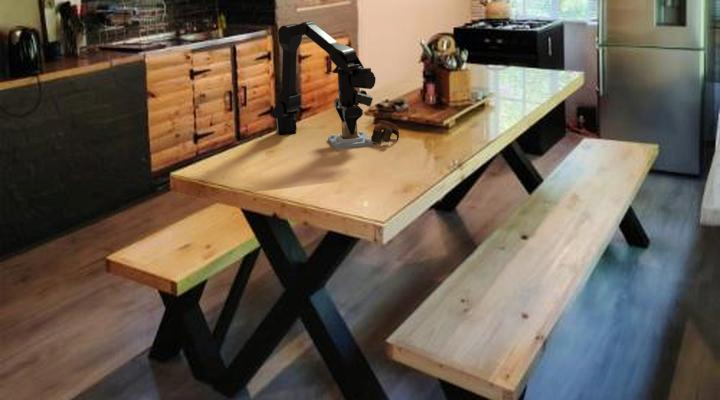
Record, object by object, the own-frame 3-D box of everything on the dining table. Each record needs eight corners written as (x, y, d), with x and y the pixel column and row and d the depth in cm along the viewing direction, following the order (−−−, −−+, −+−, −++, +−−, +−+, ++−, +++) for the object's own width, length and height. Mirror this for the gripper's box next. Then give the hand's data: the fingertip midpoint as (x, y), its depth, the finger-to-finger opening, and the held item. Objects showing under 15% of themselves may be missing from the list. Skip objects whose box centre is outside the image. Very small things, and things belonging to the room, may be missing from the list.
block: (345, 141, 258) (344, 124, 256) (342, 138, 262) (341, 121, 260) (357, 140, 259) (356, 123, 257) (354, 136, 263) (353, 120, 261)
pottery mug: (366, 141, 264) (374, 119, 264) (390, 150, 266) (398, 128, 266) (374, 140, 252) (382, 117, 252) (399, 150, 254) (408, 127, 254)
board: (335, 149, 254) (335, 143, 253) (328, 140, 266) (327, 133, 265) (372, 145, 256) (372, 138, 256) (363, 136, 268) (363, 130, 268)
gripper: (376, 89, 248) (378, 135, 253) (363, 79, 265) (365, 122, 270) (343, 92, 245) (346, 138, 251) (332, 82, 262) (335, 126, 268)
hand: (349, 131), depth 260 cm, fingers open, 9 cm apart
